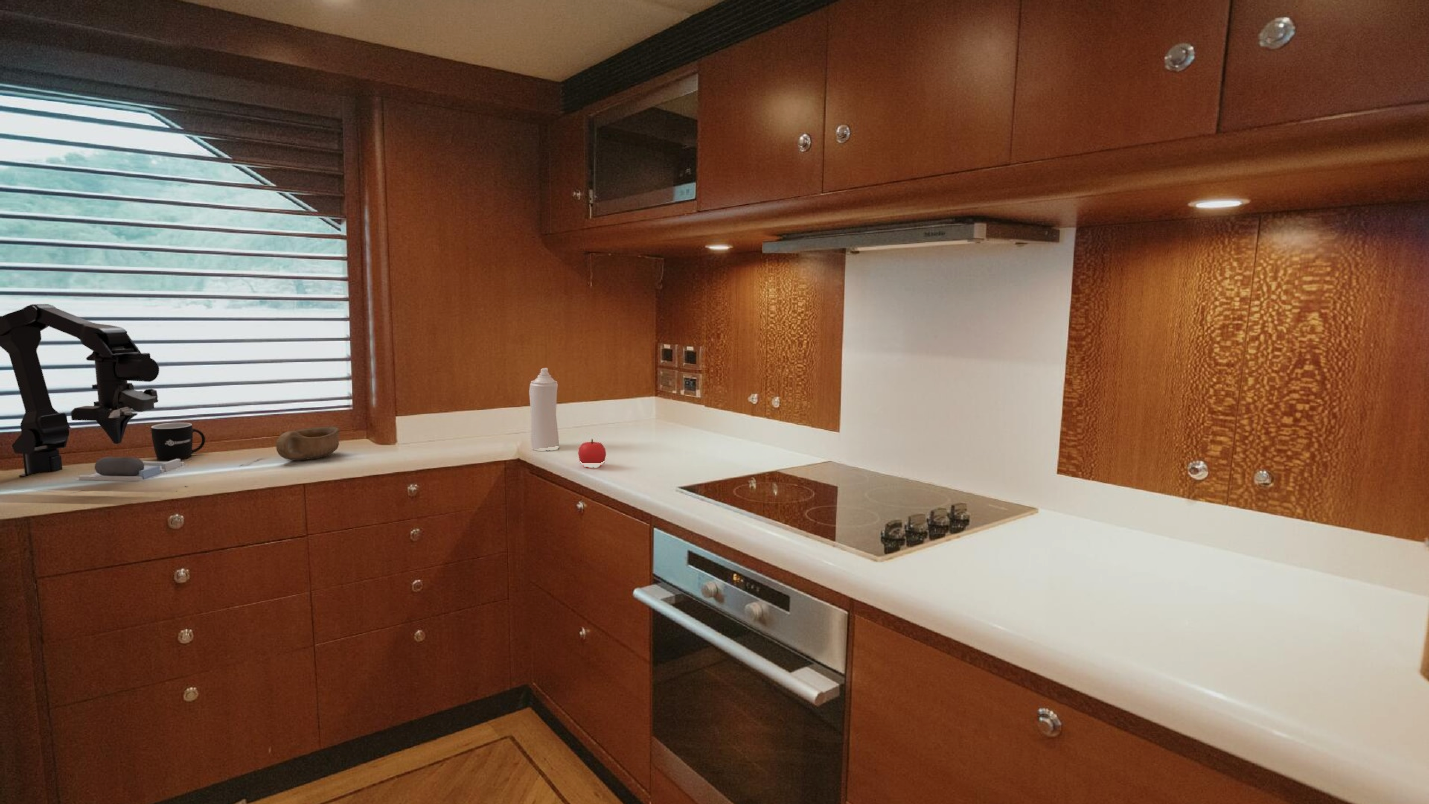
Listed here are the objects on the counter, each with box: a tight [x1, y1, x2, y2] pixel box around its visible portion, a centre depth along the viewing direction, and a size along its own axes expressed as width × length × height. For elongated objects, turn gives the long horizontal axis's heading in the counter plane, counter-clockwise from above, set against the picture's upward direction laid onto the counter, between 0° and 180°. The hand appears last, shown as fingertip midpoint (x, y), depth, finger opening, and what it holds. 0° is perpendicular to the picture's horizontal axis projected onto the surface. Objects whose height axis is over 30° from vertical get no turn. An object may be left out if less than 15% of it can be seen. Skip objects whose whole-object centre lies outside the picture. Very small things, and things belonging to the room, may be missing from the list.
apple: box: [577, 438, 607, 463], centre depth 208 cm, size 8×8×8 cm
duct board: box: [74, 459, 189, 482], centre depth 183 cm, size 16×16×3 cm
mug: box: [150, 422, 206, 462], centre depth 199 cm, size 12×9×10 cm
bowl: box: [275, 426, 340, 461], centre depth 206 cm, size 18×14×10 cm
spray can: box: [528, 367, 560, 450], centre depth 229 cm, size 12×11×25 cm
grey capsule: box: [94, 456, 144, 476], centre depth 178 cm, size 11×5×5 cm, turn 92°
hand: (117, 443), depth 178 cm, fingers closed
